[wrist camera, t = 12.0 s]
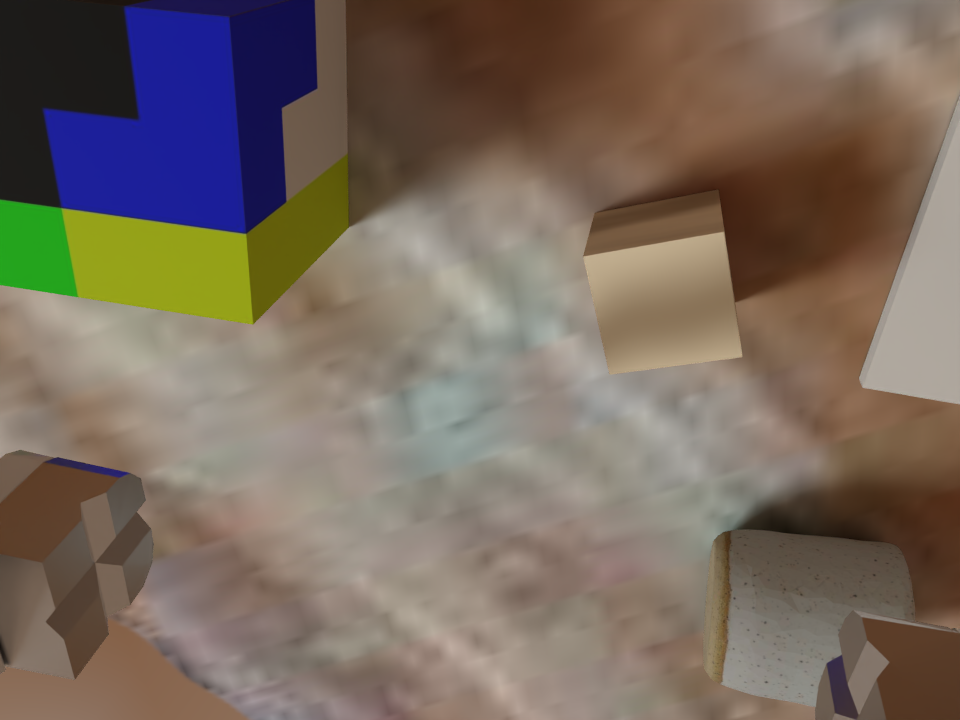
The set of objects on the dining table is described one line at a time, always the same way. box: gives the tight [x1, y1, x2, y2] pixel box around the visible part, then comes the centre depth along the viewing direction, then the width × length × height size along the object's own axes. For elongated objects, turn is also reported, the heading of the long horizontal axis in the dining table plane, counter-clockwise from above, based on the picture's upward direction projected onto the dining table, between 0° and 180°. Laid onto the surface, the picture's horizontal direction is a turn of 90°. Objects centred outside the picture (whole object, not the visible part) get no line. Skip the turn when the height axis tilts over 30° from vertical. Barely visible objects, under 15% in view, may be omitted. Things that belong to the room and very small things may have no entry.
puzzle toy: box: [0, 0, 349, 324], centre depth 32 cm, size 10×10×10 cm
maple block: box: [583, 190, 742, 374], centre depth 34 cm, size 5×5×5 cm
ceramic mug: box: [703, 529, 915, 707], centre depth 39 cm, size 11×8×8 cm
